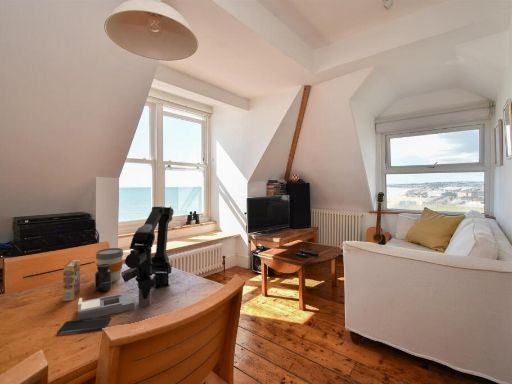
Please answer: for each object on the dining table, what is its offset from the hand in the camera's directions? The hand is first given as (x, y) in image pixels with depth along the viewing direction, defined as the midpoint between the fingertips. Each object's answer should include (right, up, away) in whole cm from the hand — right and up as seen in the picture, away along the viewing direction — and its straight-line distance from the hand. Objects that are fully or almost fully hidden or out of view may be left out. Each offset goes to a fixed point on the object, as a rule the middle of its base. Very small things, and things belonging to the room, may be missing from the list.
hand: (144, 296), depth 108 cm
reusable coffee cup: (-30, -2, +27) cm, 40 cm away
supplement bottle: (-25, -2, +13) cm, 28 cm away
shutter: (-18, -1, -7) cm, 20 cm away
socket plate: (-13, -3, -4) cm, 14 cm away
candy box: (-35, -3, +6) cm, 36 cm away
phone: (-14, -4, -17) cm, 22 cm away
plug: (0, -3, 0) cm, 3 cm away
